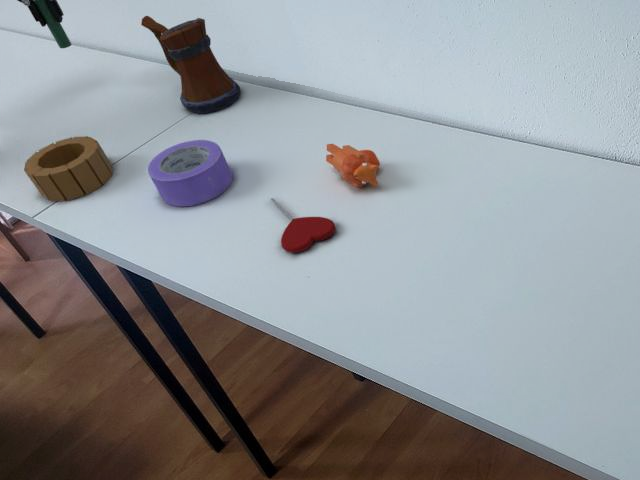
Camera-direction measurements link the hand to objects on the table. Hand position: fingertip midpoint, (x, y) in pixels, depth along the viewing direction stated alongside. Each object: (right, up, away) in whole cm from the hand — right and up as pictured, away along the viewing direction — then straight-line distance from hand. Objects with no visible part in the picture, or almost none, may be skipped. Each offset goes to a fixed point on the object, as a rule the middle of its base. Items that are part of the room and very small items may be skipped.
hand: (52, 21), depth 128 cm
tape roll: (+39, -39, -23) cm, 60 cm away
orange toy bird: (+66, -39, -27) cm, 81 cm away
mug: (+30, -15, 0) cm, 34 cm away
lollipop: (+58, -47, -34) cm, 82 cm away
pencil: (0, -3, +4) cm, 5 cm away
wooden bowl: (+15, -36, -17) cm, 43 cm away
